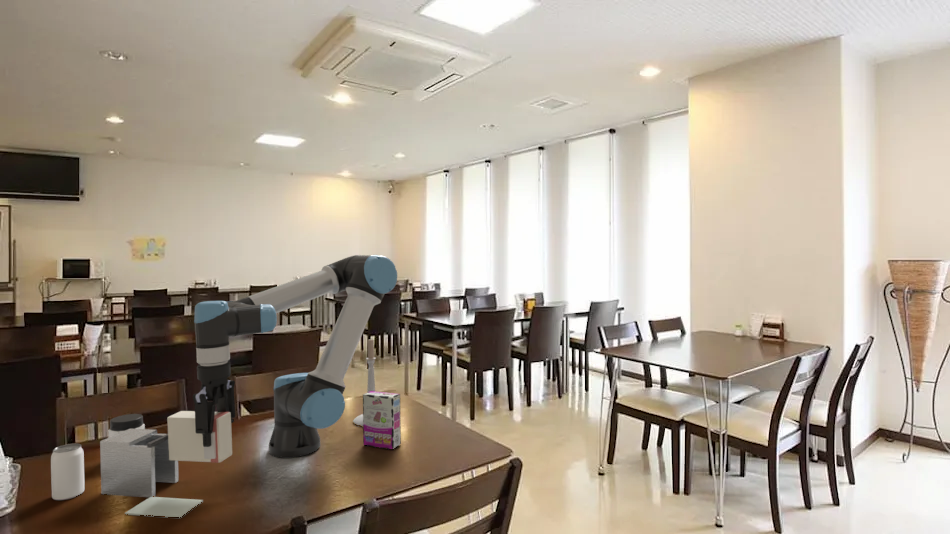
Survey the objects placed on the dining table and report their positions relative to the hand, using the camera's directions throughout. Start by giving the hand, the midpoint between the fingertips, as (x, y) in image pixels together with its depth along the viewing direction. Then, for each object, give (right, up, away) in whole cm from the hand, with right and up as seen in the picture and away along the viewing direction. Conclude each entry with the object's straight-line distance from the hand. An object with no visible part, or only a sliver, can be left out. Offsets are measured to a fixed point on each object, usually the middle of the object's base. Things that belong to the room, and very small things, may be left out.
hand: (217, 453), depth 131 cm
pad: (-9, -10, -8) cm, 15 cm away
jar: (-38, -10, +22) cm, 45 cm away
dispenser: (-21, -10, +3) cm, 23 cm away
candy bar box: (+36, -9, +31) cm, 49 cm away
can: (-37, -10, -1) cm, 38 cm away
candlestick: (+28, -9, +55) cm, 62 cm away
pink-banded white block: (-5, -1, +1) cm, 5 cm away
